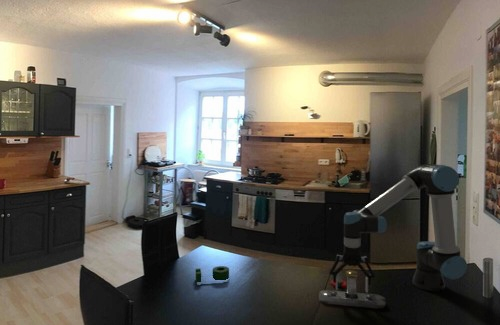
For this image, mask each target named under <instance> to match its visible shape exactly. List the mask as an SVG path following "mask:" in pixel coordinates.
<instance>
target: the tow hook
mask: <svg viewBox="0 0 500 325" xmlns="http://www.w3.org/2000/svg"><path fill="white" fill-rule="evenodd" d="M341 264H342V263H341V262H338V267H339V266H340V265H341ZM330 284H331V285H332V287H333V288H336V282H334V281H333V279H331V280H330ZM338 288H339V289H340V288H345V289H347V281H345V280H343V279H342V270H341V271H340V272H339V273H338Z"/></svg>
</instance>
